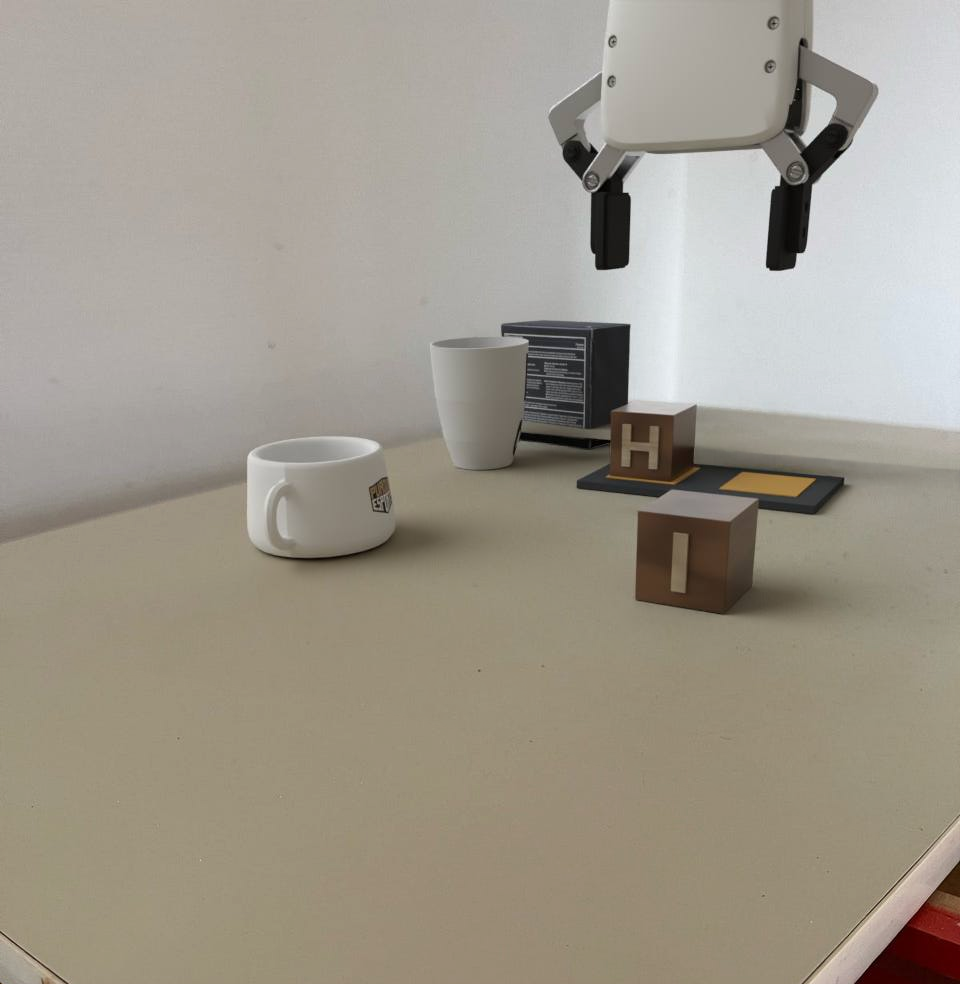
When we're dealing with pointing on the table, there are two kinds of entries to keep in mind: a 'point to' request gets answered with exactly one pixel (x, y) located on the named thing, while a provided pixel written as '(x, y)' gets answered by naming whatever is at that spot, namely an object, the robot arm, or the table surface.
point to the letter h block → (652, 440)
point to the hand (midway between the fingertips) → (692, 269)
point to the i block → (696, 550)
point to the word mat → (730, 486)
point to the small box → (573, 375)
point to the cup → (480, 398)
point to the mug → (318, 497)
